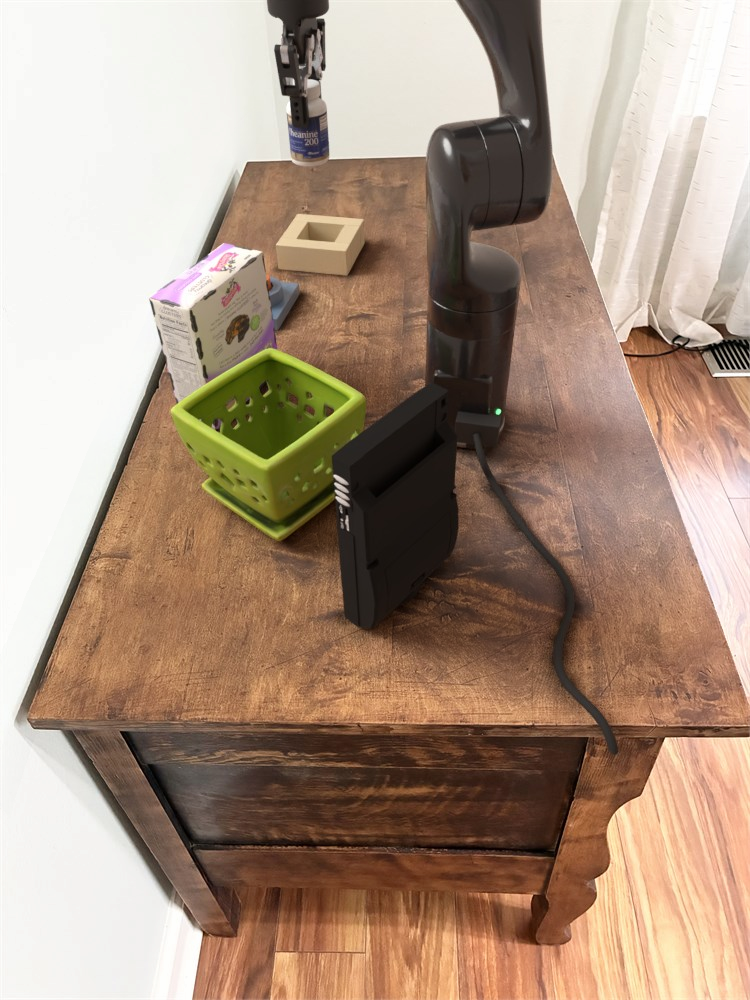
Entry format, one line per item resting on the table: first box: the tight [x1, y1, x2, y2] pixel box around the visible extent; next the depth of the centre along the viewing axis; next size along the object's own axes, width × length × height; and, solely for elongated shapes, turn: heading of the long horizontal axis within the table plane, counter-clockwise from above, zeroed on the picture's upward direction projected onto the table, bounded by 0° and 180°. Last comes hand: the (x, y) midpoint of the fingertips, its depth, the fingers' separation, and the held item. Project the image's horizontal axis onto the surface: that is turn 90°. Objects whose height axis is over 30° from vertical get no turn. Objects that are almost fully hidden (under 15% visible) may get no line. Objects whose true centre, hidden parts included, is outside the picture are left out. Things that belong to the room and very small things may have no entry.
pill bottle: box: [285, 79, 330, 168], centre depth 101 cm, size 5×5×10 cm
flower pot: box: [170, 348, 367, 542], centre depth 76 cm, size 14×14×13 cm
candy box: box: [148, 242, 278, 431], centre depth 88 cm, size 14×6×16 cm, turn 152°
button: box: [266, 272, 271, 290], centre depth 105 cm, size 3×3×2 cm
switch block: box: [269, 275, 301, 331], centre depth 107 cm, size 10×8×4 cm
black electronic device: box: [332, 382, 460, 630], centre depth 64 cm, size 12×5×20 cm, turn 139°
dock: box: [275, 213, 366, 276], centre depth 117 cm, size 11×11×4 cm
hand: (307, 118), depth 101 cm, fingers closed on pill bottle, 5 cm apart
